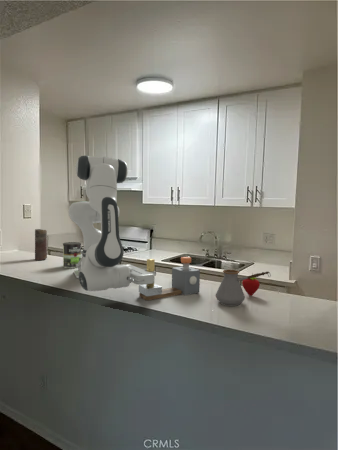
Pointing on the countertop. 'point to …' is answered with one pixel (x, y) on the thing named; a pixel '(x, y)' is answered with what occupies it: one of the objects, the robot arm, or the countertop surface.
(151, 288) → the carriage
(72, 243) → the coffee can
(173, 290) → the rail
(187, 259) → the button
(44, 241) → the candle
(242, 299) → the coffee pot
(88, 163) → the robot arm
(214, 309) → the countertop surface
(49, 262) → the countertop surface
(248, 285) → the strawberry
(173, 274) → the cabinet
